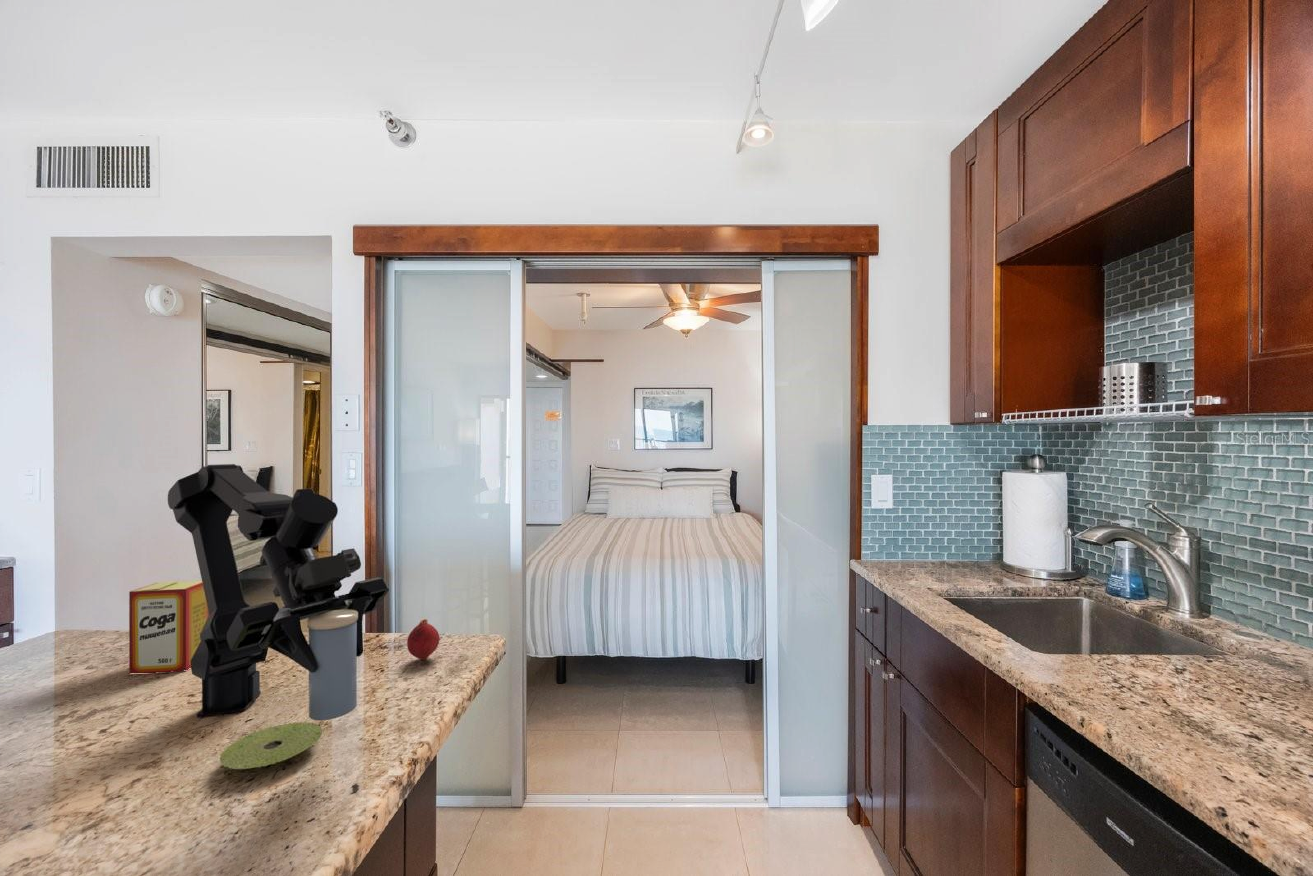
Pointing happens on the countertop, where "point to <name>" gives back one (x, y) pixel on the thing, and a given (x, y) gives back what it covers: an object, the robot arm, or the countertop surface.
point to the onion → (423, 640)
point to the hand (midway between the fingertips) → (338, 662)
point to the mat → (270, 745)
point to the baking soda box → (165, 625)
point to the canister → (333, 664)
